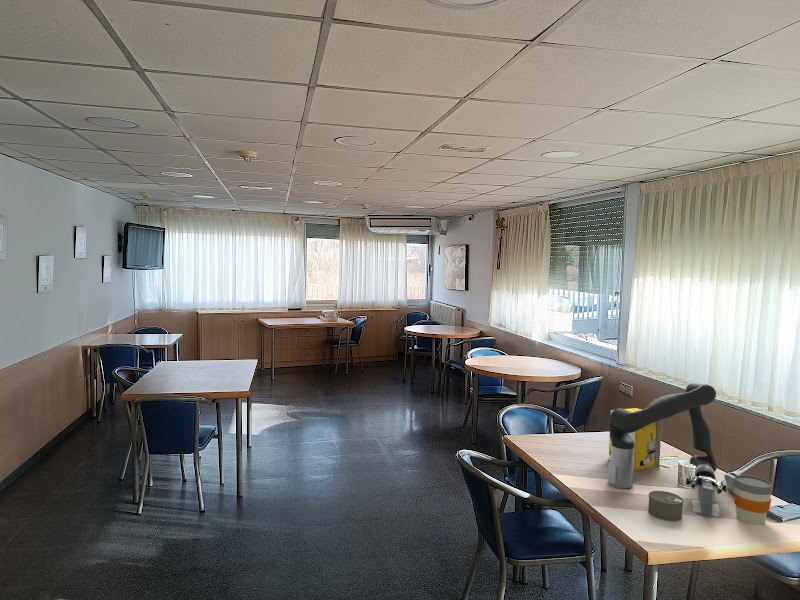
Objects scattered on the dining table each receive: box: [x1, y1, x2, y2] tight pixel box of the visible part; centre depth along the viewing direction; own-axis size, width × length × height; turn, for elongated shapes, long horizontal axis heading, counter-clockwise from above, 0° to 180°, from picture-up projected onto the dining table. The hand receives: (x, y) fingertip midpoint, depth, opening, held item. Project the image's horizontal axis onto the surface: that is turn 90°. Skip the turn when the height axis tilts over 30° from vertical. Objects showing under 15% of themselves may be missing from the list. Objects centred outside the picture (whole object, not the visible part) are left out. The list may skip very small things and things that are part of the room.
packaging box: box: [608, 407, 663, 472], centre depth 258 cm, size 16×16×25 cm
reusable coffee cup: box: [732, 474, 774, 526], centre depth 200 cm, size 13×13×15 cm
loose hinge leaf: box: [699, 476, 712, 505], centre depth 210 cm, size 3×6×11 cm, turn 152°
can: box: [647, 490, 684, 522], centre depth 203 cm, size 12×12×7 cm
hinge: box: [723, 471, 741, 493], centre depth 222 cm, size 17×5×10 cm, turn 177°
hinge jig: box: [691, 483, 721, 519], centre depth 208 cm, size 14×9×11 cm, turn 152°
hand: (706, 489), depth 209 cm, fingers open, 8 cm apart
